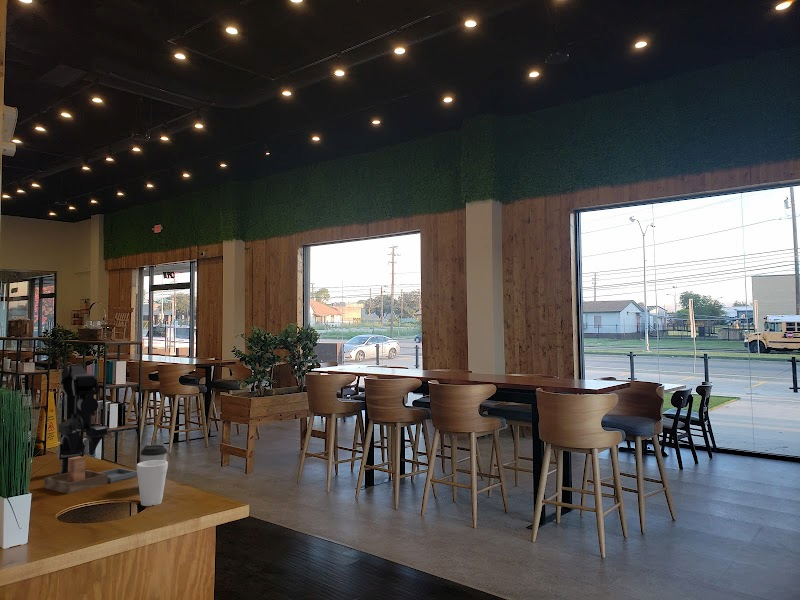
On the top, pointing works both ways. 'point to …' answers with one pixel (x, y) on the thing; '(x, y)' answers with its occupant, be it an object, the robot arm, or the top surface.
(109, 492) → the top surface
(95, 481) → the brown square tray
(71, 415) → the robot arm
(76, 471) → the terracotta peg
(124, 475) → the grey rectangular bin
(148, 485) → the foam cup
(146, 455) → the coffee cup
